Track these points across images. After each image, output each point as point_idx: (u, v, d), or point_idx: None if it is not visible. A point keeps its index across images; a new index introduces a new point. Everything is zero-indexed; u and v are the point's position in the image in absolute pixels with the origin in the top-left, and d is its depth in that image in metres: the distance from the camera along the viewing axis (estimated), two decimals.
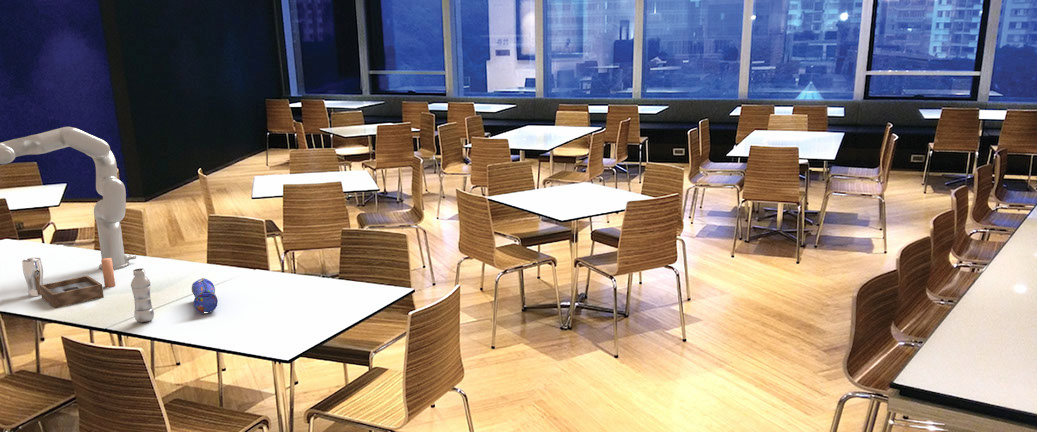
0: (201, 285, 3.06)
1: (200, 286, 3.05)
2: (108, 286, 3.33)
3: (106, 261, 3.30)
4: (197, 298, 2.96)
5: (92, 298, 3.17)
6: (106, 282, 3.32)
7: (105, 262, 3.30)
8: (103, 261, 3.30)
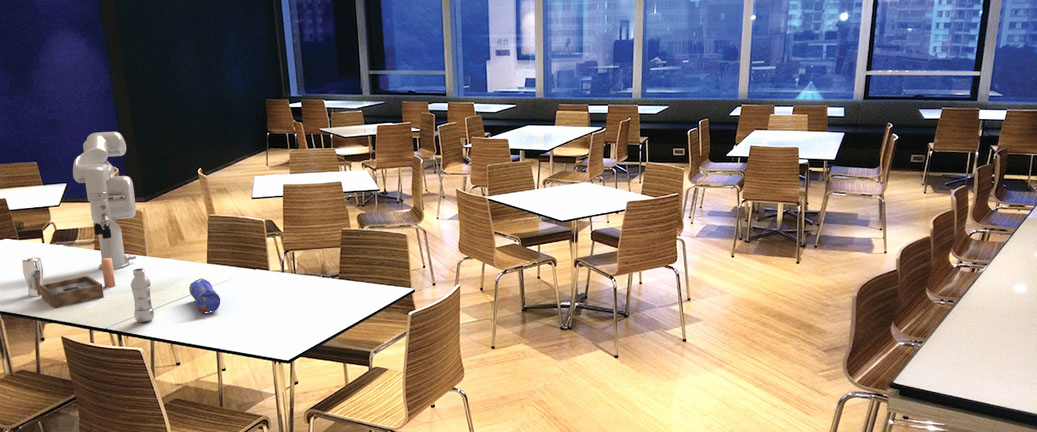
0: (201, 285, 3.06)
1: (200, 286, 3.05)
2: (108, 286, 3.33)
3: (106, 261, 3.30)
4: (200, 298, 2.97)
5: (92, 298, 3.17)
6: (106, 282, 3.32)
7: (105, 262, 3.30)
8: (103, 261, 3.30)
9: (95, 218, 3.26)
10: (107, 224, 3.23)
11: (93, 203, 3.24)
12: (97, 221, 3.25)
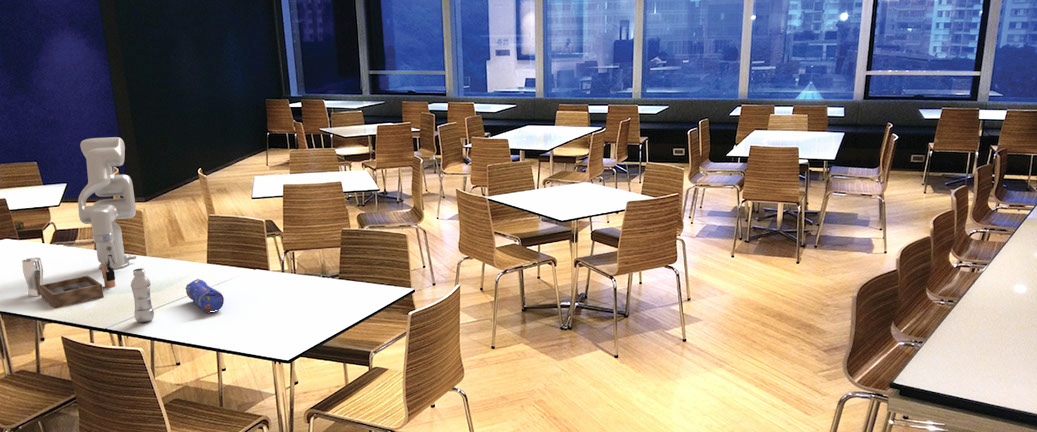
0: (201, 285, 3.06)
1: (200, 286, 3.05)
2: (108, 286, 3.33)
3: None
4: (204, 297, 2.97)
5: (92, 298, 3.17)
6: (106, 282, 3.32)
7: None
8: None
9: (101, 259, 3.30)
10: (111, 268, 3.29)
11: (99, 244, 3.28)
12: (103, 262, 3.29)
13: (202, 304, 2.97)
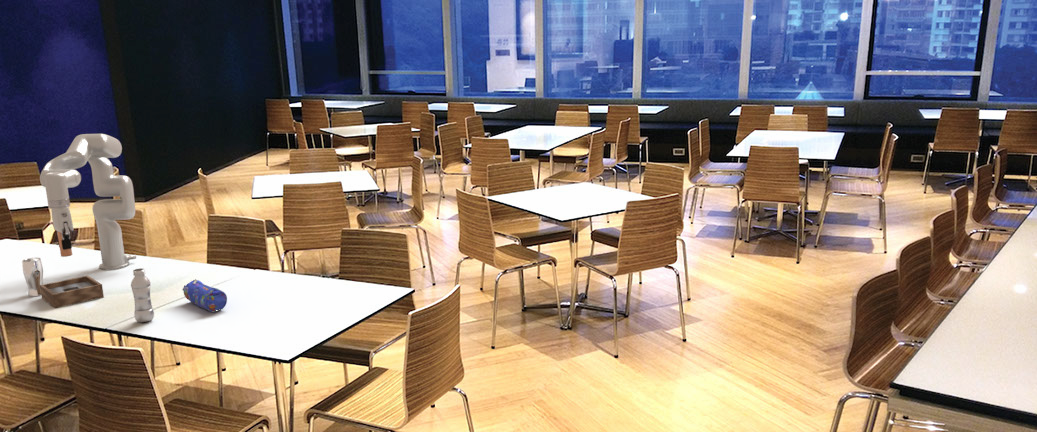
0: (201, 285, 3.06)
1: (201, 286, 3.05)
2: (64, 255, 3.14)
3: None
4: (208, 297, 2.98)
5: (92, 298, 3.17)
6: (62, 251, 3.14)
7: None
8: None
9: (56, 226, 3.11)
10: (67, 235, 3.10)
11: (54, 211, 3.09)
12: (58, 229, 3.10)
13: (206, 304, 2.97)
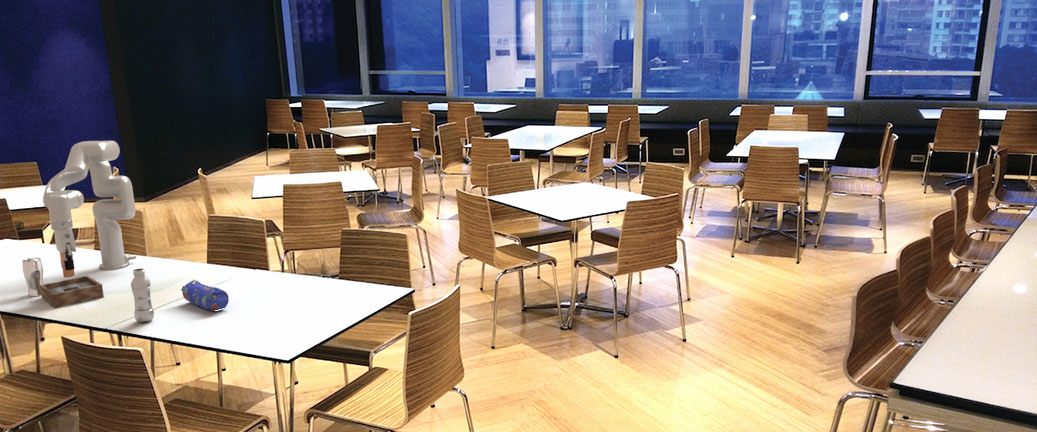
0: (201, 285, 3.06)
1: (201, 286, 3.05)
2: (67, 276, 3.16)
3: None
4: (210, 297, 2.98)
5: (92, 298, 3.17)
6: (65, 271, 3.15)
7: None
8: None
9: (59, 247, 3.13)
10: (70, 257, 3.12)
11: (57, 232, 3.11)
12: (61, 250, 3.12)
13: (209, 303, 2.97)
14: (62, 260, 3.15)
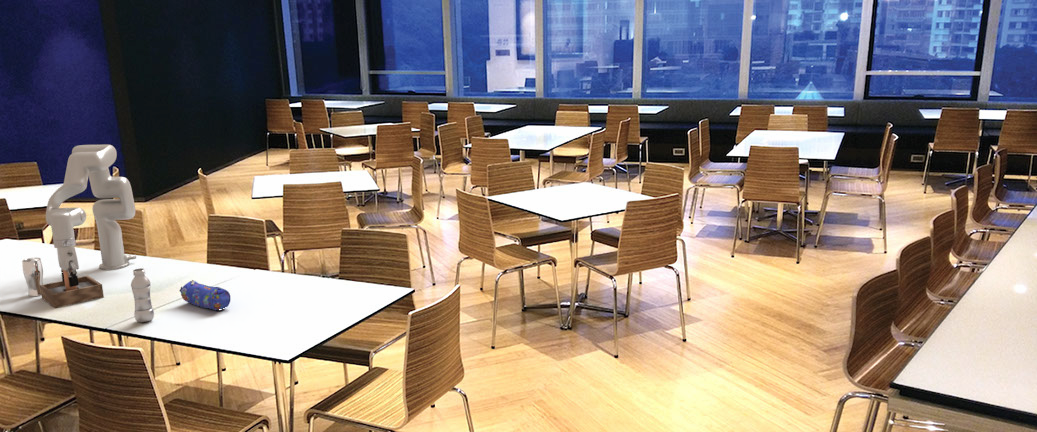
0: (201, 285, 3.05)
1: (202, 286, 3.05)
2: None
3: None
4: (213, 296, 2.99)
5: (92, 298, 3.17)
6: None
7: None
8: None
9: (62, 265, 3.15)
10: (74, 272, 3.12)
11: (59, 250, 3.13)
12: (64, 268, 3.14)
13: (212, 303, 2.98)
14: (65, 280, 3.17)
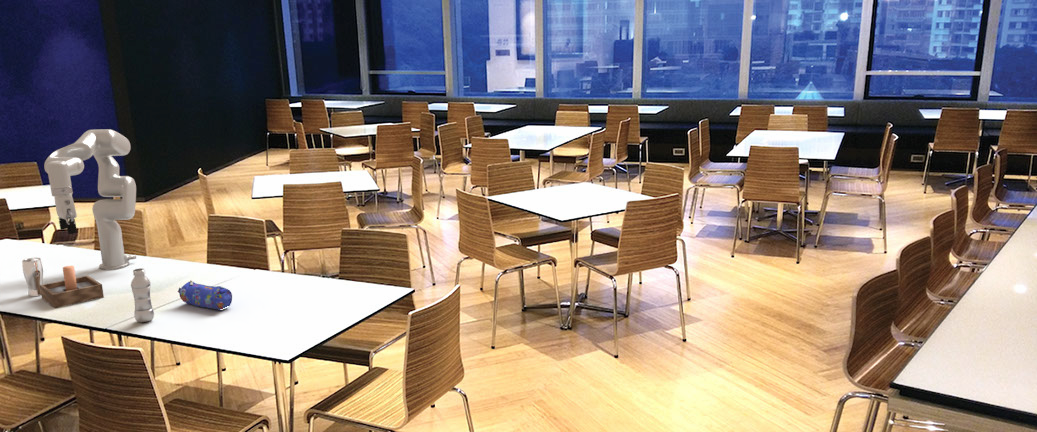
0: (201, 286, 3.05)
1: (202, 286, 3.05)
2: None
3: (68, 269, 3.16)
4: (216, 295, 2.99)
5: (92, 298, 3.17)
6: None
7: (67, 270, 3.16)
8: (64, 269, 3.15)
9: (60, 213, 3.20)
10: (72, 219, 3.17)
11: (57, 198, 3.18)
12: (62, 216, 3.19)
13: (215, 302, 2.99)
14: (65, 280, 3.17)
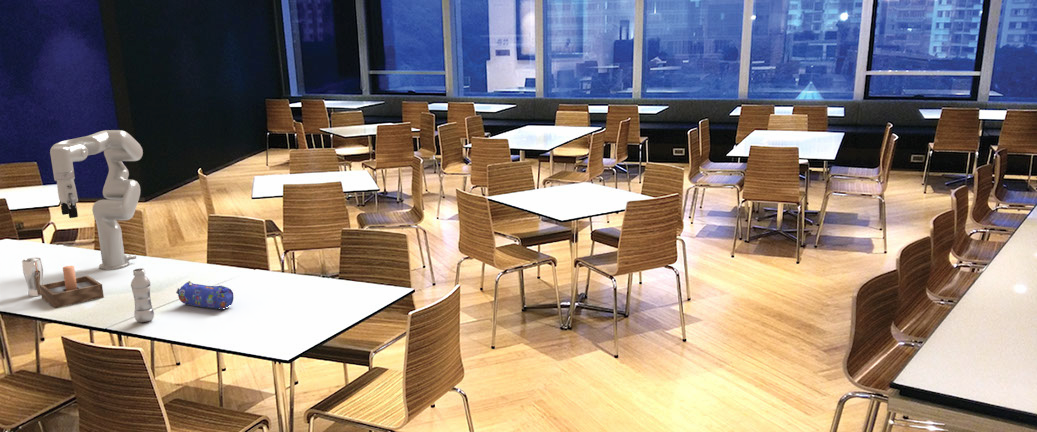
0: (201, 286, 3.05)
1: (202, 286, 3.05)
2: None
3: (68, 269, 3.16)
4: (218, 295, 3.00)
5: (92, 298, 3.17)
6: None
7: (67, 270, 3.16)
8: (64, 269, 3.15)
9: (61, 197, 3.27)
10: (73, 203, 3.24)
11: (59, 182, 3.25)
12: (63, 200, 3.27)
13: (218, 301, 2.99)
14: (65, 280, 3.17)
